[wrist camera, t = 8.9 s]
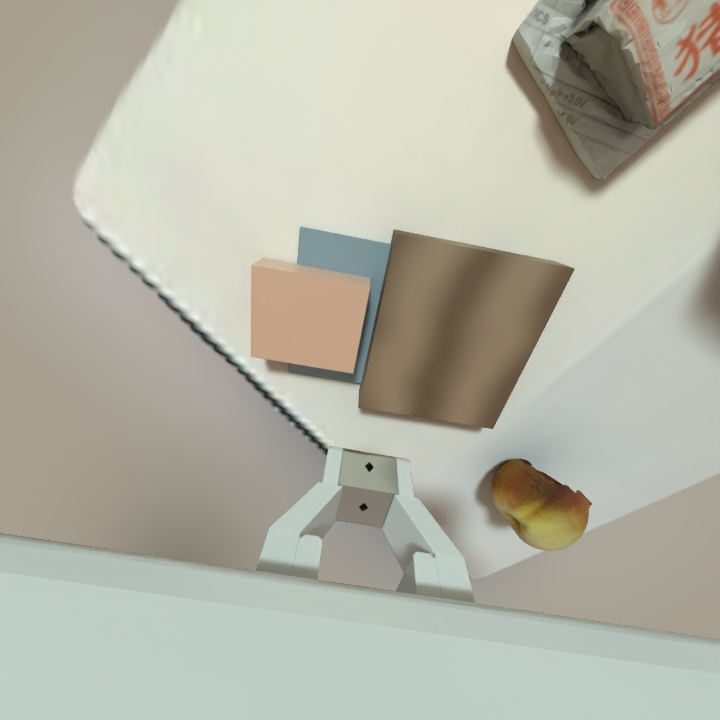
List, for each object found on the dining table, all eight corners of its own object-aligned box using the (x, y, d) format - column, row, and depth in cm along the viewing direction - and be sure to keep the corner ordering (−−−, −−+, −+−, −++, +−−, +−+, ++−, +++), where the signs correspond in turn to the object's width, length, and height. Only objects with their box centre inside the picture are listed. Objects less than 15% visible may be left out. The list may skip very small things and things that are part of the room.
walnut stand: (554, 261, 22) (574, 268, 20) (483, 411, 29) (492, 428, 27) (393, 229, 21) (396, 233, 19) (359, 390, 28) (358, 407, 26)
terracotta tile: (370, 278, 23) (370, 287, 21) (354, 358, 26) (353, 373, 24) (263, 258, 22) (251, 265, 20) (261, 342, 26) (251, 356, 23)
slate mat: (404, 246, 22) (404, 247, 22) (371, 383, 28) (371, 385, 27) (300, 226, 21) (299, 227, 21) (289, 370, 27) (288, 371, 27)
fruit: (490, 437, 30) (526, 510, 23) (571, 444, 31) (632, 518, 24) (470, 488, 34) (497, 564, 27) (543, 494, 34) (588, 571, 27)
